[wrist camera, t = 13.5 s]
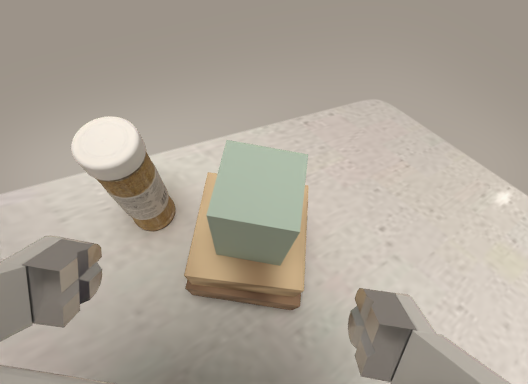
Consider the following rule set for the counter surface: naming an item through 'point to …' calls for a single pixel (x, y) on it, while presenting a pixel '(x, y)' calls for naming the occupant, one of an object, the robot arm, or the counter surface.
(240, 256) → the sage block
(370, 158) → the counter surface
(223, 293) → the walnut block
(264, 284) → the oak block
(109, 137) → the sprinkles bottle
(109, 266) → the counter surface
